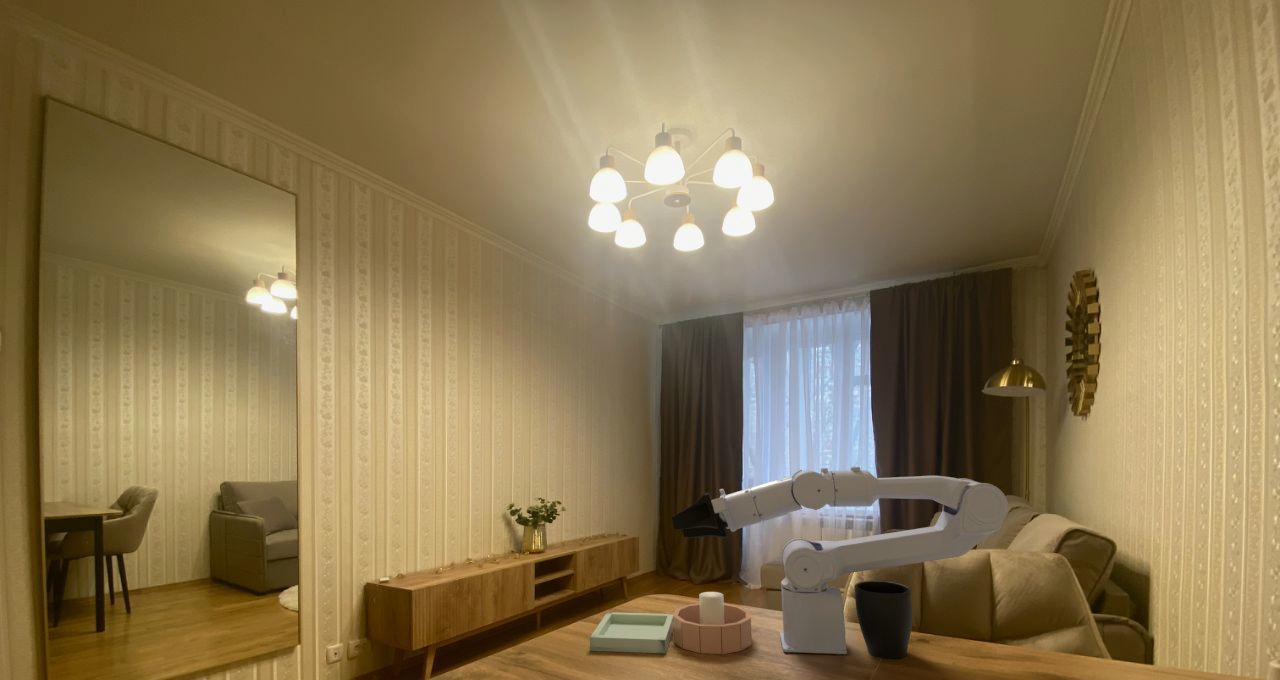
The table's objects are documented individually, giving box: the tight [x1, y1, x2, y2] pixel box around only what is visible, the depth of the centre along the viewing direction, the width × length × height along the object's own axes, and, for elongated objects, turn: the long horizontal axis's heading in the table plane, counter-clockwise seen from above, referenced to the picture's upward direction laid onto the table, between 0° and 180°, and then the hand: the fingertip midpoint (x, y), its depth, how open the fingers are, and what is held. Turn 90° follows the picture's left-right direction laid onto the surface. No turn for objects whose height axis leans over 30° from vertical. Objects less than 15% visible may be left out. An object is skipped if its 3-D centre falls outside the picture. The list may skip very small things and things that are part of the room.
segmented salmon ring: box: [672, 602, 753, 655], centre depth 100 cm, size 13×13×4 cm
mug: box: [853, 579, 914, 659], centre depth 95 cm, size 8×12×10 cm
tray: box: [589, 611, 674, 654], centre depth 101 cm, size 12×13×2 cm
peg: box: [698, 591, 725, 625], centre depth 100 cm, size 4×4×7 cm
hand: (678, 527), depth 102 cm, fingers open, 7 cm apart
